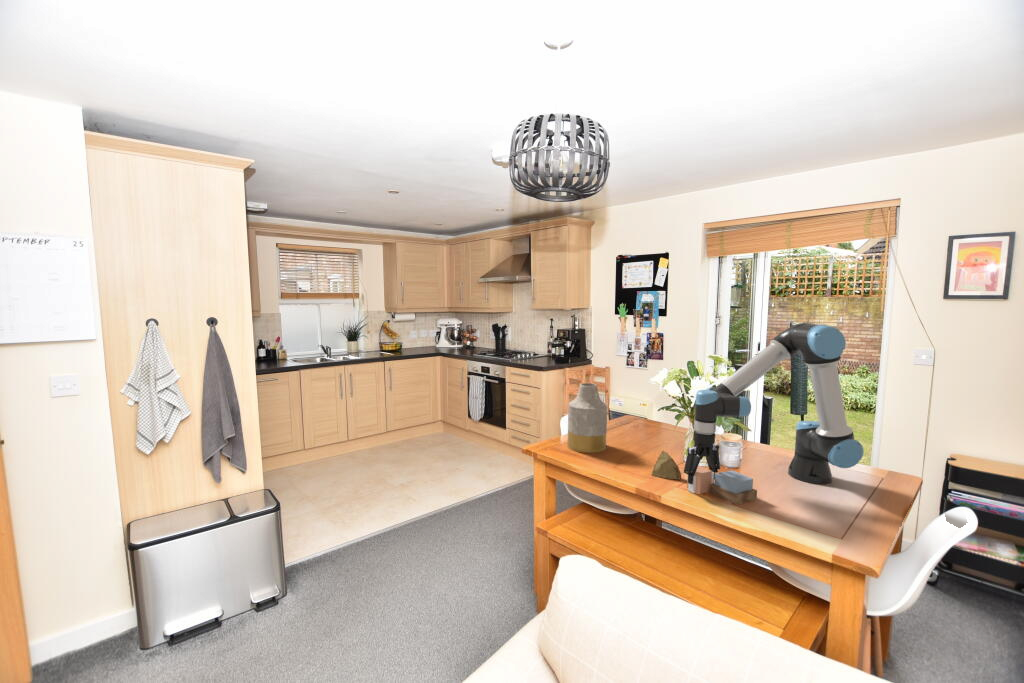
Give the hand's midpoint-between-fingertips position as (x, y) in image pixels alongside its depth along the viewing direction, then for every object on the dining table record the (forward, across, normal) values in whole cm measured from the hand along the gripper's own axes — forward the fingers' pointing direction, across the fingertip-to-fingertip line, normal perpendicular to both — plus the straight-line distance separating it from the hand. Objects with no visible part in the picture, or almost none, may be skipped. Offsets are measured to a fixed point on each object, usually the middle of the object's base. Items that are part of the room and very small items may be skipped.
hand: (700, 489), depth 176 cm
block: (0, 0, -1) cm, 1 cm away
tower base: (+1, -7, +8) cm, 11 cm away
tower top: (-3, -7, +8) cm, 11 cm away
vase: (+1, +13, -59) cm, 60 cm away
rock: (+1, +3, -15) cm, 15 cm away
